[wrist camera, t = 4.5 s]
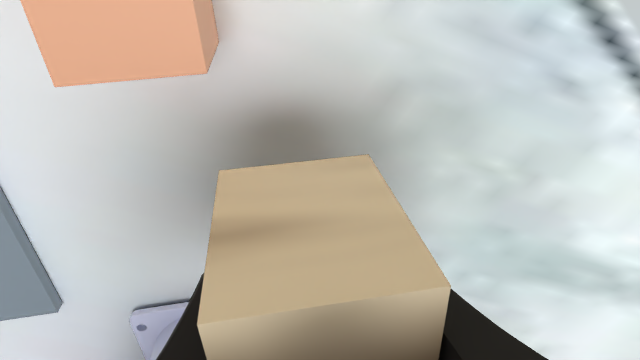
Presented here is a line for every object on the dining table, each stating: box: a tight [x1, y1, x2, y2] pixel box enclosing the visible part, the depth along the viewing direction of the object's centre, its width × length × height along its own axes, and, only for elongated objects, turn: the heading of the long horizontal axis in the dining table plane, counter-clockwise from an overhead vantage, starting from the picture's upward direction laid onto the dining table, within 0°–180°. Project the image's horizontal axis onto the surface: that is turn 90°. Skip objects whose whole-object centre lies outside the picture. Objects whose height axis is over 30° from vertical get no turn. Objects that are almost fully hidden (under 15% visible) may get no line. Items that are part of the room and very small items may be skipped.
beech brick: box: [197, 154, 451, 360], centre depth 10 cm, size 6×4×5 cm, turn 2°
